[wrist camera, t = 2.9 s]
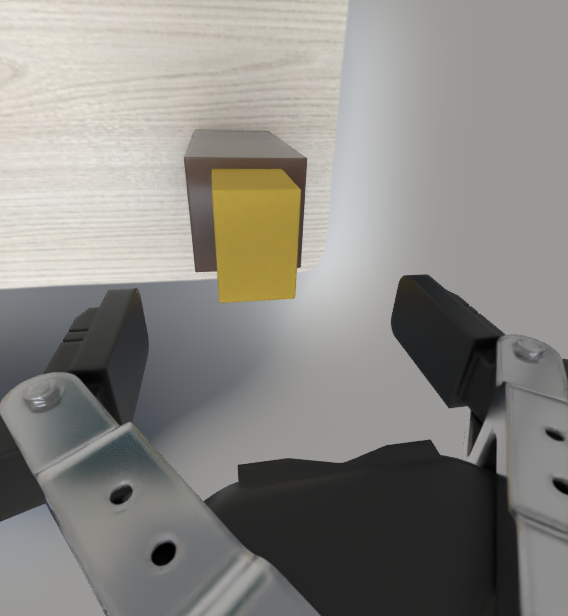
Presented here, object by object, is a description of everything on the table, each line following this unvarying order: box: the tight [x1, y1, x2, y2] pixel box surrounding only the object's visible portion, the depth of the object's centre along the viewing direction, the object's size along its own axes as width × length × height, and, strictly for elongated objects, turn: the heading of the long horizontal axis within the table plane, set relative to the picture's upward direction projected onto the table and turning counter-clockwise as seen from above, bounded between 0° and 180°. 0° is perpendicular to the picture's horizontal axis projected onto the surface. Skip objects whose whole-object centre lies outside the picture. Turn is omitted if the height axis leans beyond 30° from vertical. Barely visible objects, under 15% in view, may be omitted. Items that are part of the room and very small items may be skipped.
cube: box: [212, 169, 301, 303], centre depth 17 cm, size 5×4×4 cm
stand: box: [184, 130, 307, 272], centre depth 25 cm, size 6×6×14 cm
